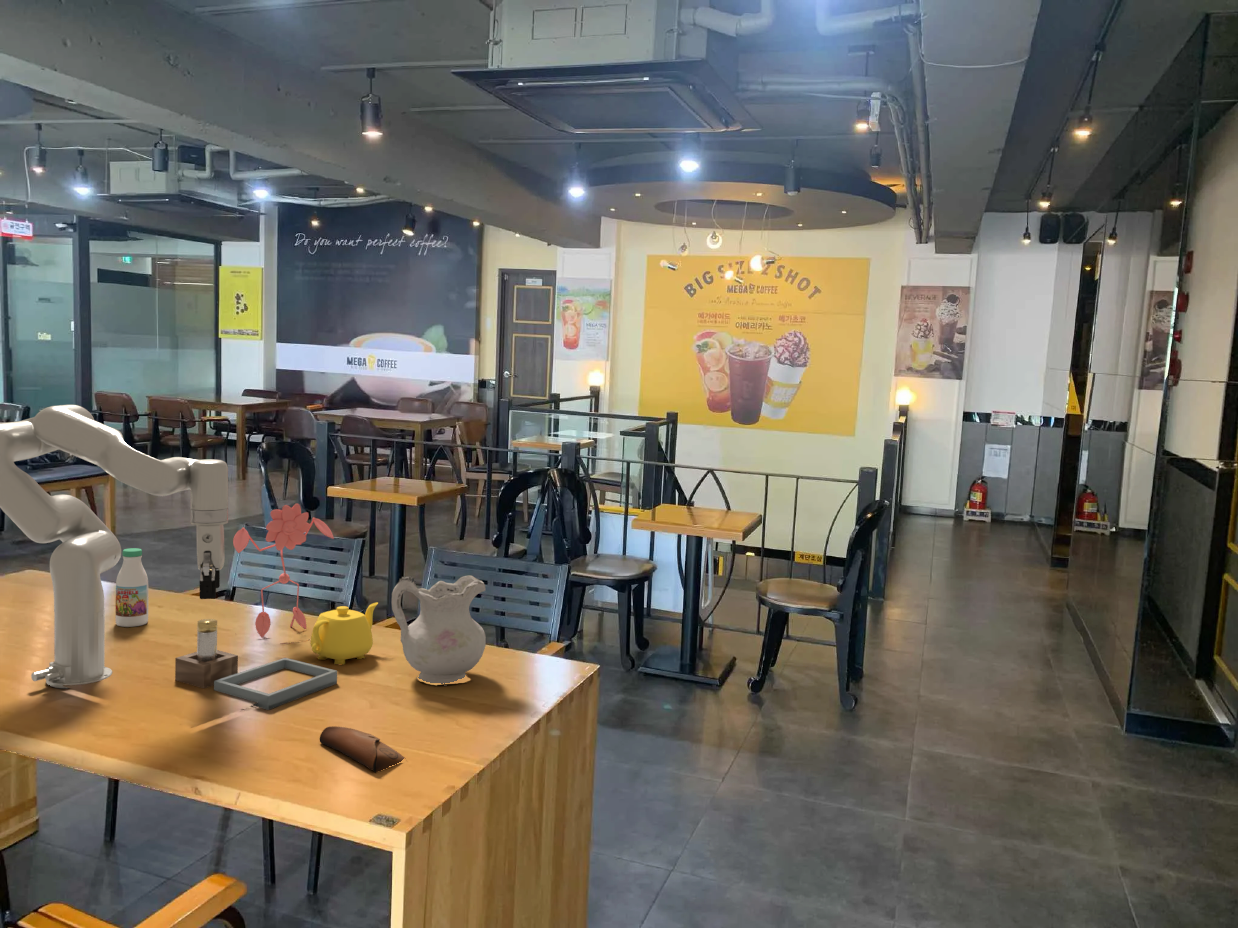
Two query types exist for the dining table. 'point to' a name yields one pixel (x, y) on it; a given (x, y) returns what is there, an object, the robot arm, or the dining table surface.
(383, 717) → the dining table surface
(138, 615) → the milk bottle
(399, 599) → the ceramic pitcher
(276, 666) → the tray
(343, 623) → the teapot
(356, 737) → the sunglasses case
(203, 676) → the holder block
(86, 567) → the robot arm
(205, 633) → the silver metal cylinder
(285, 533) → the figurine
